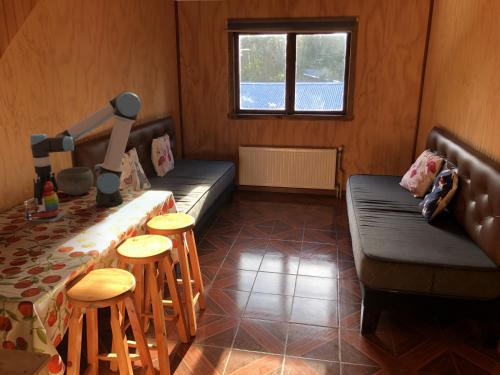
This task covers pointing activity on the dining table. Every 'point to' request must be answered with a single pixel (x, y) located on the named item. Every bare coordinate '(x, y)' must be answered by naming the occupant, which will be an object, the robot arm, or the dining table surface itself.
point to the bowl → (75, 180)
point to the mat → (50, 218)
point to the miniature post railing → (27, 209)
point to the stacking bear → (49, 201)
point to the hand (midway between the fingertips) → (48, 207)
